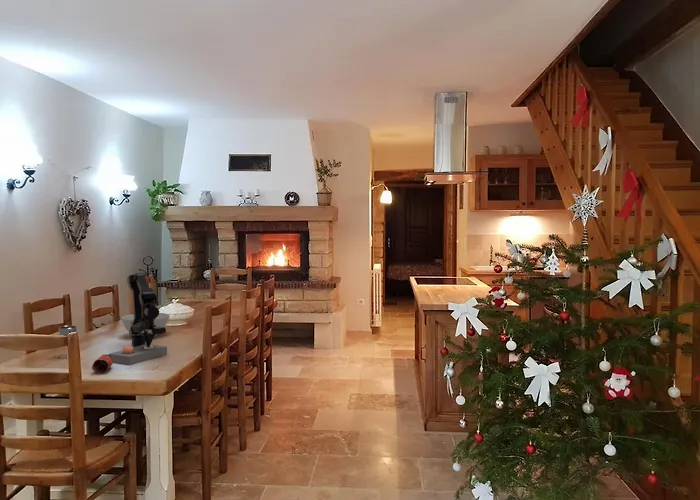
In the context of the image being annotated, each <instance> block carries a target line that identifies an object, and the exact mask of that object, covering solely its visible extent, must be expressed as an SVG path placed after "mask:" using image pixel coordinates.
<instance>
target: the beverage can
mask: <svg viewBox="0 0 700 500" xmlns="http://www.w3.org/2000/svg"><path fill="white" fill-rule="evenodd" d="M113 364H114V363H113V359H112V357H111V356H110V355H109V354H102V355H100V356H99V357H98V358H97V359H95V360H94V362H93V363H92V365H91V370H92V371H93V372H94V373H96V374H97V375H100V374H101V373H102V375H104V374H105V373H107V372H108V370H109V369H110V368H111V367H112V365H113ZM104 369H105V370H104ZM103 370H104V372H102V371H103Z"/></svg>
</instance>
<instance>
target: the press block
mask: <svg viewBox="0 0 700 500" xmlns="http://www.w3.org/2000/svg"><path fill="white" fill-rule="evenodd" d="M150 345H153V348H150V349H145V348H144V346H147V344H146V343H145V344H144V345H140V346H137V347H133V353H131V354H123V349H122V350H118V351H115V352H111V353H108V355H110V356H111V357H112V359H113V364H120V365H127V366H132V365H136V364H138V363H143V362H146V361H148V360H152V359H154V358H155V359H156V358H159V357H162V356H165V355H168V346H166V345H158V344H152V343H151V344H150Z"/></svg>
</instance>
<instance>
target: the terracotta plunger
mask: <svg viewBox="0 0 700 500" xmlns="http://www.w3.org/2000/svg"><path fill="white" fill-rule="evenodd" d="M122 350H123V354H131V353H133V346H132V345H124V346H122Z"/></svg>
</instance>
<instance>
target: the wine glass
mask: <svg viewBox="0 0 700 500" xmlns="http://www.w3.org/2000/svg"><path fill="white" fill-rule="evenodd" d="M77 330H78V327H77V325H63V326H59V327H58V334H59V336H60V335H67V334H69V333H71V332H76V334H77V333H78V332H77ZM60 359H68V358H67V354H65V355H62V356H60Z"/></svg>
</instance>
